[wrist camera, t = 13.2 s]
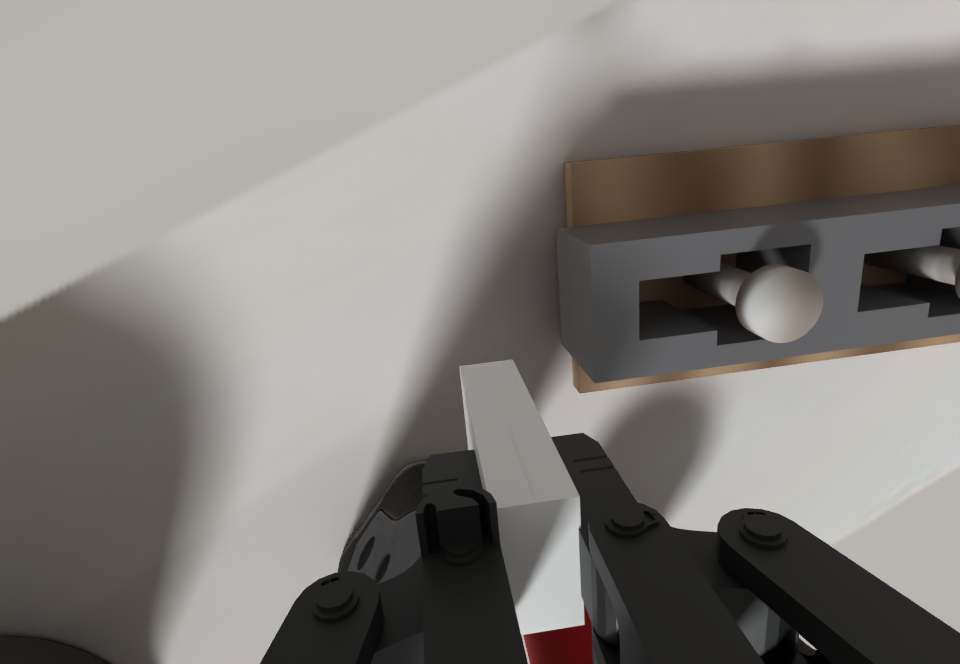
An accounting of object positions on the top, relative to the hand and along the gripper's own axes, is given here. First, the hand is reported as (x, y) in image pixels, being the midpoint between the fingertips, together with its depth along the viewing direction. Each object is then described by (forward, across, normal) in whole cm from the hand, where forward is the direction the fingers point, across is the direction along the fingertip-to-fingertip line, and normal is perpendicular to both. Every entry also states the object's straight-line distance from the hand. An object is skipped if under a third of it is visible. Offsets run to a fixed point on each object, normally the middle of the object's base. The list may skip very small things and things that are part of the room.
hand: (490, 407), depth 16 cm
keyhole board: (+14, +18, 0) cm, 23 cm away
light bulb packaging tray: (+13, +16, 0) cm, 21 cm away
